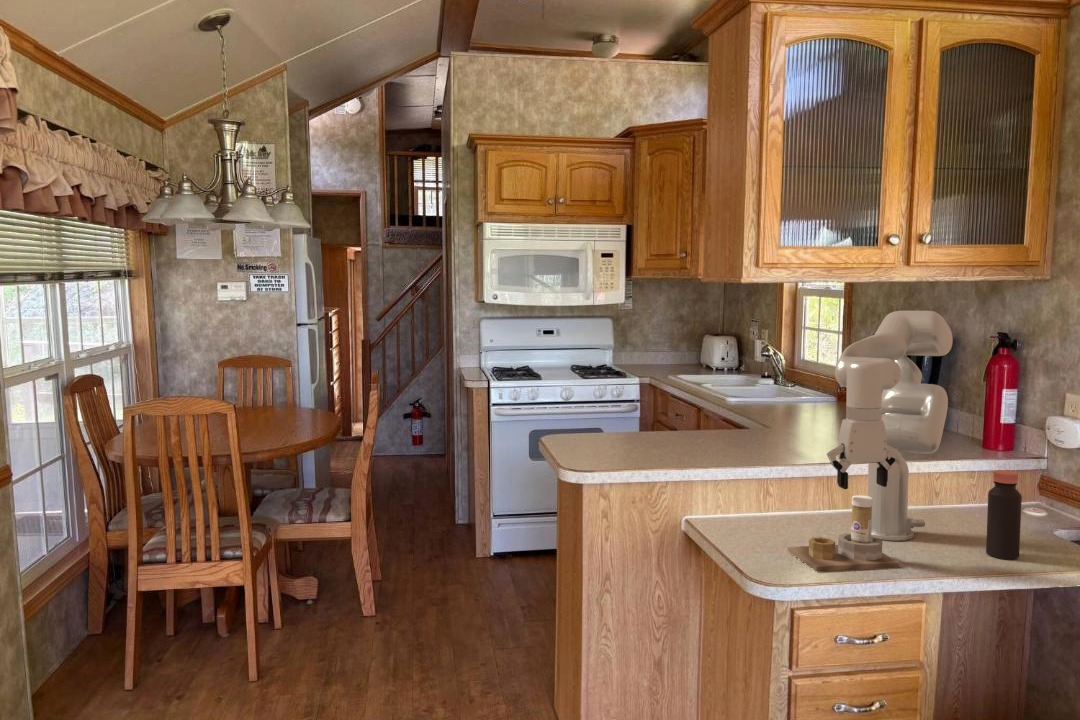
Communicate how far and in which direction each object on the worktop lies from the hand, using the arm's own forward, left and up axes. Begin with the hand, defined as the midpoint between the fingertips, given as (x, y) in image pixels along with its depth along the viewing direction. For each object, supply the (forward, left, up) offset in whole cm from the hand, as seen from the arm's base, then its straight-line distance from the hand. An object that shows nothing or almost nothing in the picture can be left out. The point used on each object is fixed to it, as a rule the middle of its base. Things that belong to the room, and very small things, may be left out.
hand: (862, 486), depth 179 cm
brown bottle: (-34, +3, -17) cm, 38 cm away
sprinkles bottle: (0, 0, -16) cm, 16 cm away
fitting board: (+5, 0, -17) cm, 18 cm away
